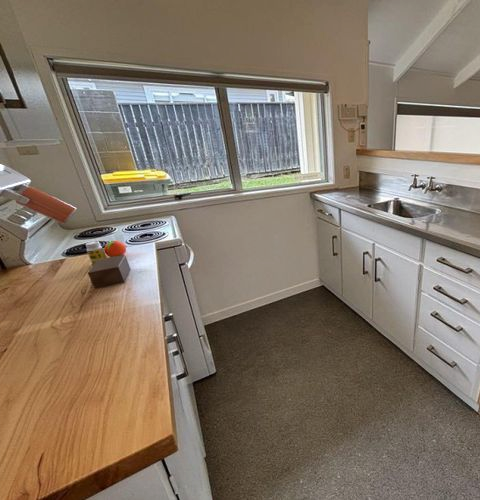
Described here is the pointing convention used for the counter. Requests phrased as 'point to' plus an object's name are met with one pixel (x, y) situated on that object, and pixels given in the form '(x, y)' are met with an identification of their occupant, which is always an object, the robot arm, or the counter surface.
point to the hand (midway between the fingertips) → (34, 199)
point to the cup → (47, 205)
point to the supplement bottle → (95, 251)
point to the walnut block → (109, 271)
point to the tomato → (114, 248)
